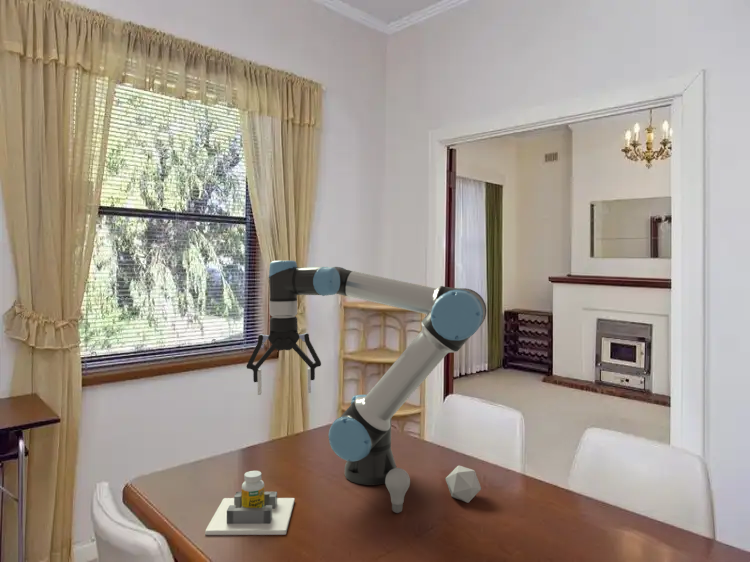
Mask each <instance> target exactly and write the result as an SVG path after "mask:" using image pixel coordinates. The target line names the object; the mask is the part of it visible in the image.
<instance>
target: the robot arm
mask: <svg viewBox="0 0 750 562" xmlns="http://www.w3.org/2000/svg"><path fill="white" fill-rule="evenodd" d="M268 270H269V271H268V272H269V273H268V281H269V315H270V316H271V317H270V319H269V334H263V333H260V334H258V336H257V344H256V346H255V348H254V350H253V352H252V354H251V356H250V358H249V360H248V362H247V364H246V369H249V370H252V373H253V374H252V376H253V379H252V380H253V383H257V396H261V395H262V369H259V368H261V366H262V365H263V363H265V361H266V360H267V359H268V358H269V356H270V355H271V354H273V352H274V350H277V351H279V352H280V351H291V350H293V351H295V353H296V354H297V355H298V356H299V357H300V358H301V359H302V360H303V361H304V362H305V363H306V365H307V366H308V367H307V393H308V394H311V393H312V388H311V387H312V381H315V378H316V377H315V376H316V374H315V372H316V368H318V367H321V366H322V362H321V360H320V357H319V356H318V354H317V352H316V350H315V348H314V346H313V344H312V342H311V340H310V333H309V332H305V333H302V334H299V331H298V330H299V329H298V327H299V326H298V325H299V324H298V317H297V315H298V296H322V297H324V296H333V295H339V296H344V297H351V298H355V299H359V300H363V301H367V302H372V303H376V304H380V305H385V306H389V307H394V308H397V309H403V310H407V311H409V312H410V311H411V312H414V313H419V314H423V315H425V317H424V318H423V319H422V320H421V331H420V332H419V333H418V334H417V336H416V337H414V339H413V340H412V341H411V342H410V343H409V345H408V346H407V347H406V348H405V350H404V351H403V352H402V353H401V354H400V355H399V356H398V358H397V359H396V360H395V361H394V362H393V363H392V365H391V366H390V367H389V368H388V369H387V370H386V372H385V373H384V374H383V376H382V377H380V379H379V380H378V381H377V383H375V385H374V386H373V387H372V388H371V390H370V391H369V392H368V393H367V394H356V395H353V396H352V398H351V402H350V405H349V406H348V408H347V409H346V410H345V411H344V412H343V413H342V415H340V417H338V418H336V419H335V420H333V422H332V424H331V425H330V427H329V430H328V443H329V445H330V448H331V450H332V451H333V452H334V453H335V455H336V456H338V457H339V458H340V459H342V460H344V461H346V462H345V463H344V464H345V465H344V476H345V479H347V480H348V481H349V482H352V483H354V484H359V485H364V486H379V485H384V484H385V485H386V483H385V479H386V475H387V474H388V472H389V471H390V470H392V469H394V468H397V464H396V461H395V458H394V455H393V454H394V453H393V451H392V445H391V443H392V417H394V415H395V414H396V413H397V412H398V411H399V410H400V409H401V407H402V406H403V405H404V404H405V402H406V401H407V400H408V399H409V398H410V397H411V396H412V395H413V394H414V392H415V391H416V390H417V389H418V388H419V387H420V386H421V384H422V383H423V382H424V381H425V379H426V378H428V376H430V374H431V373H433V371H434V370H435V368H436V367H437V366H438V365H439V364H440V362H441V361H442V360H443V359H444V358H445V357H446V355H448V354H450V353H458V352H459V350H460V349H461V348H462V347H463V346H464V344H466V343H467V341H468V340H469V339H470V338H471V337H472V336H473V335H474V334H476V332H477V331H478V330H479V328H480V327H481V325H483V323H484V321H485V319H486V316H487V305H486V303H485V302H486V301H485V300H484V298H483V297H482V295H481V294H480V293H478V292H477V291H475V290H473V289H470V288H463V287H462V288H458V287H449V286H444V285H440V286H438V287H436V288H435V287H430V286H427V285H426V286H425V285H422V284H416V283H412V282H408V281H402V280H397V279H392V278H388V277H383V276H378V275H374V274H369V273H365V272H359V271H356V270H354V271H353V270H349V269H346V268H343V267H340V266H333V267H328V266H320V267H319V266H318V267H317V266H316V267H298V263H297V261H296V260H272V261H271V262H270V263H269V269H268ZM267 340H268V341H269V343H270V344H271V346H269V348H268V349H267V351H266V352H265V353H264V354H263V355H262V356H261V358H260V359H258V361H257V363H255V364H254V362H255V360H256V359H257V356H258V354H259V352H260V349H261V348H262V345H263V344H264V343H266V342H267ZM299 340H301V341H302V342H304V343H305V345H306V347H307V349H308V351H309V353H310V355H311V356H312V359H313V360H314V362H313V361H312V360H311V358H310V357H309V355H307V354H306V353H305V352H304V351H303V349H302V348H300V346H299V345H298V343H297V342H299Z"/></svg>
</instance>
